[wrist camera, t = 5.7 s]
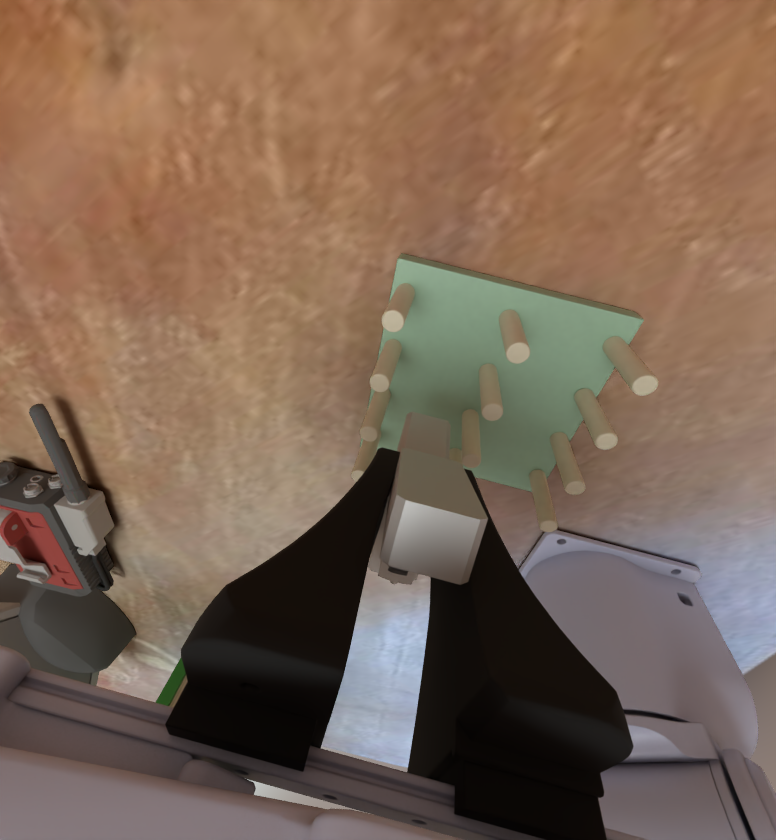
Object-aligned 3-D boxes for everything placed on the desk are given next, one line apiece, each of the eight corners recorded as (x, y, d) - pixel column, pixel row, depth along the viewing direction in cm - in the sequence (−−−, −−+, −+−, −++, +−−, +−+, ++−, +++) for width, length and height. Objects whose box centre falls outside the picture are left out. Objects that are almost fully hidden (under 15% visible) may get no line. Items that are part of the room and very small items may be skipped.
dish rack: (635, 311, 16) (686, 357, 12) (535, 481, 22) (549, 547, 18) (401, 252, 16) (382, 280, 13) (363, 436, 22) (343, 492, 18)
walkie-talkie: (143, 580, 35) (73, 397, 24) (107, 628, 32) (4, 440, 20) (53, 558, 36) (-58, 368, 24) (8, 603, 32) (-148, 405, 21)
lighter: (424, 495, 17) (400, 704, 11) (386, 485, 17) (339, 687, 11) (477, 352, 13) (492, 549, 6) (427, 339, 13) (390, 522, 7)
